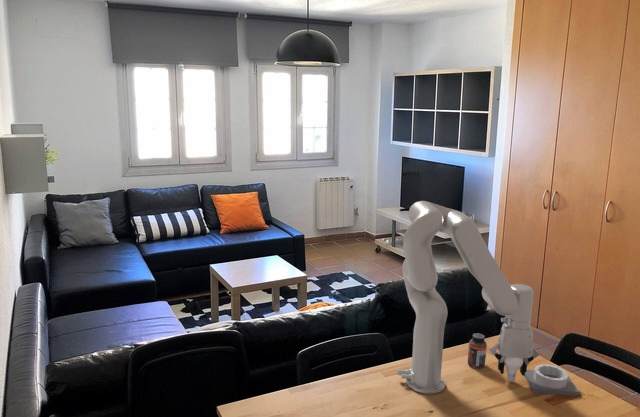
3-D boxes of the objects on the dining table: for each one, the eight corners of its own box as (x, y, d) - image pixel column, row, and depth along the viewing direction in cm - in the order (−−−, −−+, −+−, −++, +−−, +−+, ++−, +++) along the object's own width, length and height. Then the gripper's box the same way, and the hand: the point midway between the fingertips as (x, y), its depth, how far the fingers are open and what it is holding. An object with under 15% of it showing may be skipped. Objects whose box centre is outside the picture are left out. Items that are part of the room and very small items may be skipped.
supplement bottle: (464, 362, 187) (466, 332, 185) (478, 359, 189) (480, 330, 186) (473, 370, 182) (476, 340, 179) (488, 368, 183) (491, 338, 181)
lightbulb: (522, 387, 171) (526, 356, 168) (501, 384, 172) (505, 353, 170) (519, 377, 177) (522, 347, 174) (499, 374, 178) (502, 345, 176)
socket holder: (533, 392, 168) (534, 380, 167) (522, 373, 180) (524, 361, 179) (578, 395, 167) (580, 383, 166) (565, 376, 178) (566, 364, 177)
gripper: (492, 325, 167) (487, 376, 171) (548, 329, 165) (541, 381, 169) (488, 315, 174) (482, 365, 178) (541, 319, 173) (535, 369, 177)
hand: (511, 372), depth 174 cm, fingers closed on lightbulb, 6 cm apart
